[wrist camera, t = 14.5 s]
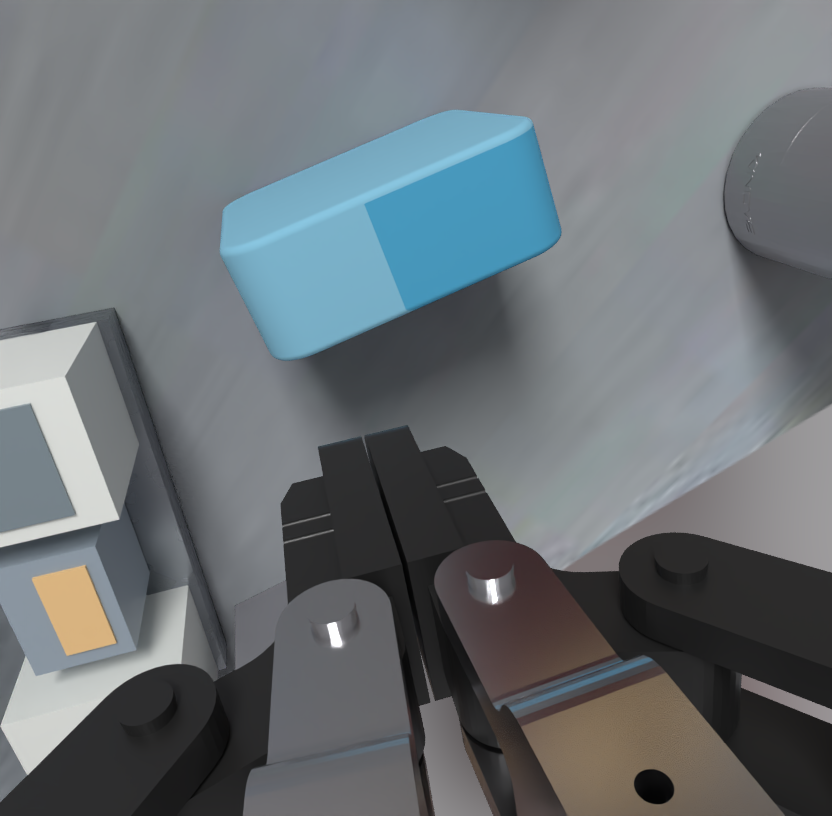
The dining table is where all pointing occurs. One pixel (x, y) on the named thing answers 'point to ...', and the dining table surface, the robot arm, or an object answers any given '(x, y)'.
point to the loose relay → (258, 623)
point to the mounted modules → (75, 517)
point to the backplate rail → (148, 483)
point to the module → (75, 594)
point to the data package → (388, 228)
